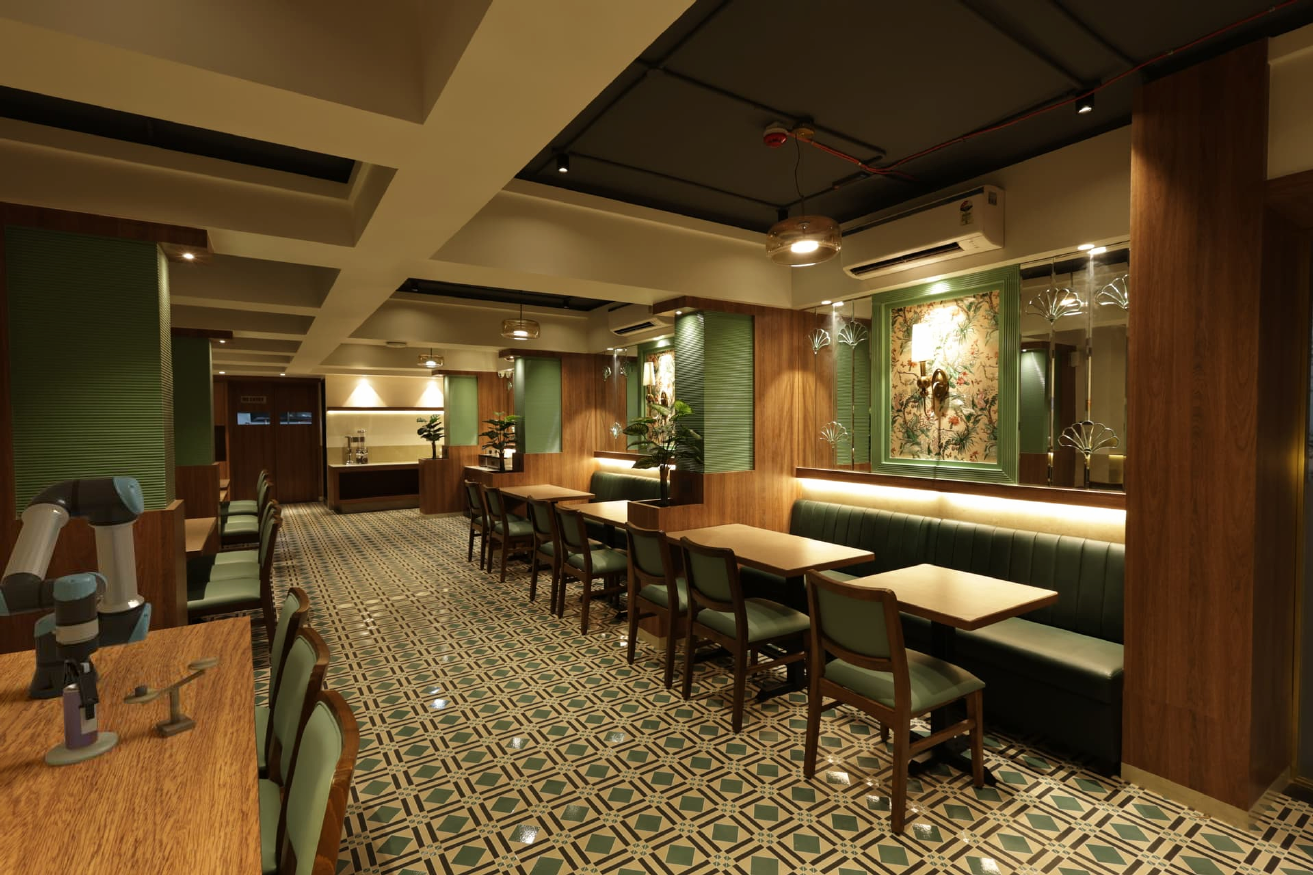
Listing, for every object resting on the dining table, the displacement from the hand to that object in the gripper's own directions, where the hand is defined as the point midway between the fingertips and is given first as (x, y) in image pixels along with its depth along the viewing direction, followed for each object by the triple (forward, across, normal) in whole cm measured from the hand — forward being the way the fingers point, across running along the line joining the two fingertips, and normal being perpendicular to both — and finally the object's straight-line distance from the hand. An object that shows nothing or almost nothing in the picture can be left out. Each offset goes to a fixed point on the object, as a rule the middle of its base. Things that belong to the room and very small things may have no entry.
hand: (81, 723), depth 149 cm
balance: (+7, +6, +17) cm, 19 cm away
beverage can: (+6, 0, 0) cm, 6 cm away
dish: (+7, 0, 0) cm, 7 cm away
